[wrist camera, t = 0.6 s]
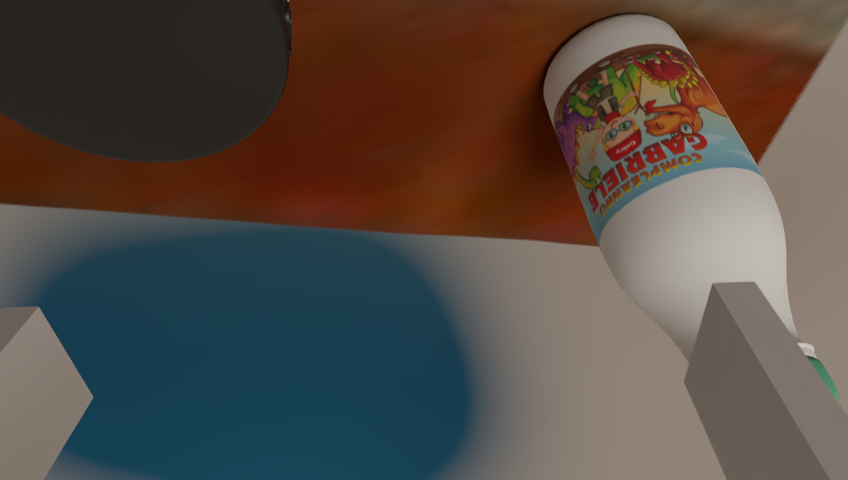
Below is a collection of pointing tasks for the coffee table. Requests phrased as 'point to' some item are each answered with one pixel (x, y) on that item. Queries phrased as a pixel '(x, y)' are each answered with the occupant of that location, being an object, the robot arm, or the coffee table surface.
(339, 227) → the coffee table surface
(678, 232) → the milk bottle
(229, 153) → the coffee table surface
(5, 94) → the jar
